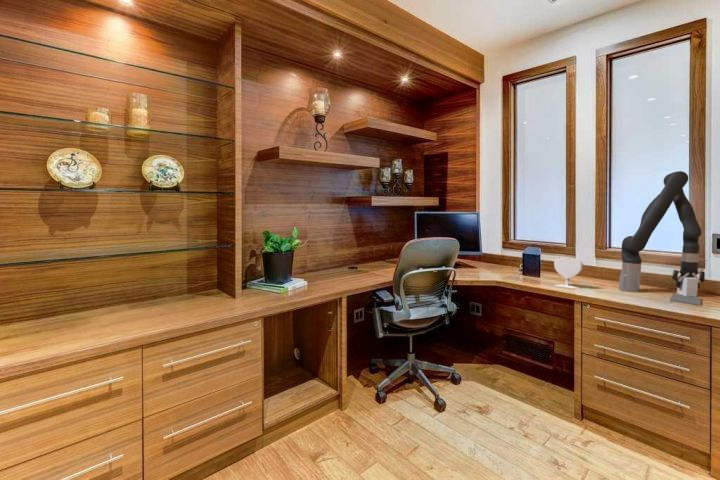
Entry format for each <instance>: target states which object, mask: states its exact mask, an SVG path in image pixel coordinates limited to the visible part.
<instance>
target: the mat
mask: <svg viewBox="0 0 720 480" xmlns="http://www.w3.org/2000/svg"><path fill="white" fill-rule="evenodd" d="M669 302H673V303H678V304H679V303H681V304H685V305H686V304H687V305H693V306H701V304H702V298H701V297H698V296H697V297H695V296H684V295H681V294H677V293H676V294H675V293H672V294H671V296H670V299H669Z"/></svg>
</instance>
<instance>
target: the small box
mask: <svg viewBox="0 0 720 480" xmlns="http://www.w3.org/2000/svg"><path fill="white" fill-rule="evenodd" d="M680 282H681V286H680V288H677V287H676V294H677V295H683V296H691V297H698V290H699V288H698V279H697V278H689V277H685V278H684V279H682V280H681V281H680Z"/></svg>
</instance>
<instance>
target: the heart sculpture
mask: <svg viewBox="0 0 720 480" xmlns="http://www.w3.org/2000/svg"><path fill="white" fill-rule="evenodd" d="M553 266H554V269H555V271H556V272H557V273H558V274H559V275H560V276H562V277H563V278H565V281H564V284H562V283H561V284H559V283H558V284H555V286H556V287H563V288H569V289H574V288H578V289H579V286H578V287H577V286H573V285H570V278H572V277H575V276H577V275H578V274H580V273H581V272H582V271H583V268H584V263H583V261H581V260H579V259H577V258H570V259H569V258H567V257H560V258H557V259H554V262H553Z"/></svg>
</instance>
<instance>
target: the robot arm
mask: <svg viewBox="0 0 720 480" xmlns="http://www.w3.org/2000/svg"><path fill="white" fill-rule="evenodd" d="M688 181H689V175H688V174H687V172H685V171H683V170H681V171H680V170H678V171H674V172H671V173H667V174H666V175H665V176H664V178H663V185H664V187H663V188H662V190H661V191H660V193H659V194H658V195H657V196H656V197H655V198H653V199H652V201H651V202H650V203H649V204H648V205H647V207H646V208H645V210H644V211H643V213H642V216H641V219H640V223H639V227H638V229H637V231H636V232H635V233H634V234H633V235H630V236H625V238H623V240H622V242H621V260H622V262H621V263H622V264H621V273H619V282H618V283H619V284H618V289H619V290H620V291H623V292H631V293H638V292H640V285H641V273H642V272H641V271H642V258H641V255H640V252H642V251H643V250H644V249H645V247H646V246H647V244H648V242H649V240H650V238H651V236H652V234H653V232H654V231H655V230H656V229H657V226H658V225H659V224H660V222H661V221H662V219H663V218H664V216H665V215H666V213H667V211H668V210H669V208H670V207H671V205H672V203H673V205H674V207H675V209H676V214H677V216H678V219H679V221H680V223H681V224H682V227H683V231H682V242H683V244H682V252H681V253H682V254H681V256H680V269H679V270H677V269H673V271H672V280H673V281H675V287H676V289H677V288H680V286H681V282H680V281H681V280H682V279H684V278H685V277H689V278H697V279H698V289H699V288H700V285H701V283H704V282H706V281H705V278H706V277H705V271H703V270H700V271H699V263H700V243H699V239H700V237H701V236H702V233H703V232H702V228H701V226H700V223H699V221H698V219H697V217H696V214H695V210H694V207H693V205H692V203H691V202H690V201H689V200H688V198H687V196H686V194H685V191H684V187H685V186H686V184H687V183H688ZM697 275H698V276H699V277H698V276H697Z"/></svg>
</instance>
